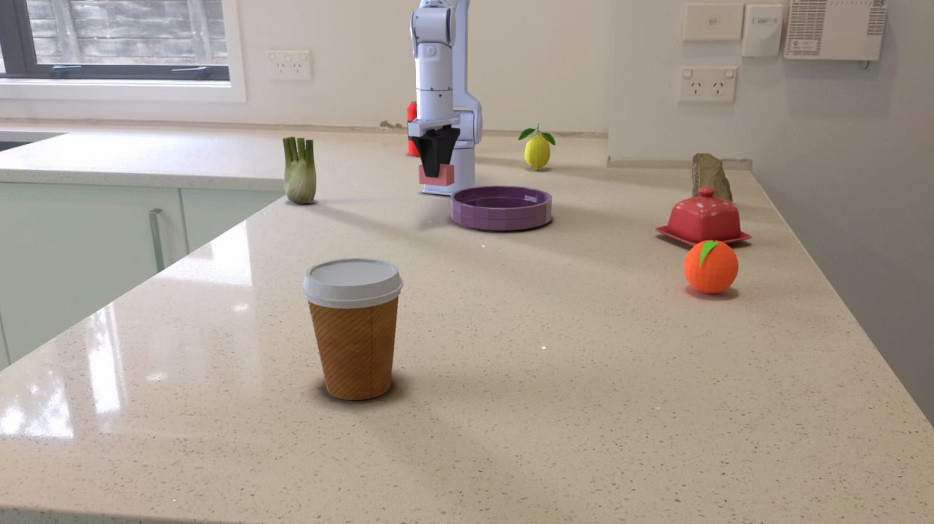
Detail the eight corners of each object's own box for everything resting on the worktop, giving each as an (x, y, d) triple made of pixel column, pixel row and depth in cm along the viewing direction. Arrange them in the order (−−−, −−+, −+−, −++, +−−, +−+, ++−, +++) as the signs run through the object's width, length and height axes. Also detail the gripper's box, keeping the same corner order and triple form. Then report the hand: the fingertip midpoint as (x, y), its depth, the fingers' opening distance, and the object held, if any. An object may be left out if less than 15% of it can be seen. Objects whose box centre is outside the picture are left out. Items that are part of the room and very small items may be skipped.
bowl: (433, 226, 139) (433, 202, 138) (475, 203, 154) (475, 182, 153) (530, 237, 133) (531, 213, 132) (564, 213, 148) (565, 191, 147)
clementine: (722, 307, 105) (729, 252, 102) (670, 297, 108) (675, 243, 105) (742, 289, 111) (748, 237, 108) (692, 280, 114) (697, 229, 112)
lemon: (517, 171, 181) (518, 124, 178) (526, 166, 186) (527, 121, 183) (546, 174, 179) (548, 126, 175) (555, 169, 184) (556, 123, 180)
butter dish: (697, 254, 125) (702, 198, 122) (650, 235, 135) (654, 183, 132) (755, 245, 130) (762, 191, 127) (706, 227, 140) (711, 176, 137)
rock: (723, 185, 159) (675, 180, 157) (745, 154, 152) (696, 148, 150) (737, 230, 154) (688, 226, 151) (761, 200, 147) (710, 195, 144)
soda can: (446, 153, 201) (445, 101, 196) (427, 158, 195) (426, 105, 190) (421, 150, 204) (420, 99, 200) (401, 155, 199) (400, 102, 194)
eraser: (419, 183, 138) (418, 165, 136) (427, 180, 140) (427, 162, 139) (446, 186, 136) (446, 168, 135) (454, 183, 138) (454, 164, 137)
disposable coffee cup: (316, 367, 87) (306, 257, 83) (408, 365, 88) (404, 255, 83) (303, 410, 78) (292, 288, 74) (406, 407, 79) (401, 286, 75)
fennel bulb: (321, 203, 153) (316, 136, 149) (299, 207, 150) (293, 140, 146) (303, 198, 157) (297, 133, 153) (280, 202, 154) (274, 136, 149)
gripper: (436, 95, 125) (438, 185, 130) (476, 85, 137) (477, 168, 142) (395, 92, 127) (398, 181, 132) (438, 83, 139) (439, 165, 145)
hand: (436, 174), depth 137 cm, fingers closed on eraser, 3 cm apart
